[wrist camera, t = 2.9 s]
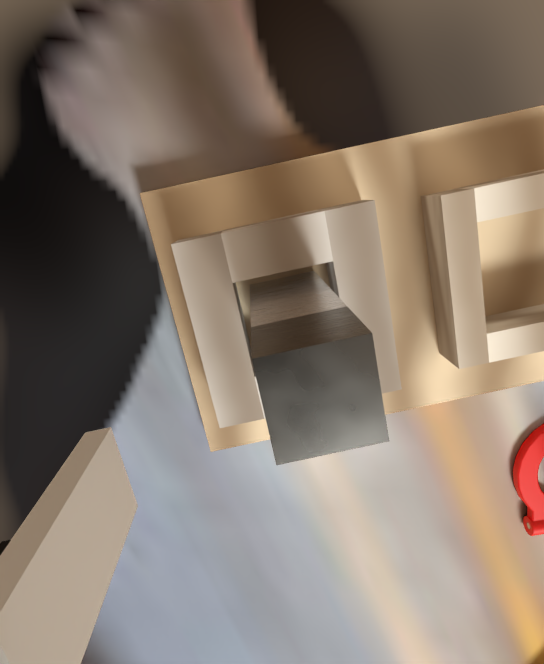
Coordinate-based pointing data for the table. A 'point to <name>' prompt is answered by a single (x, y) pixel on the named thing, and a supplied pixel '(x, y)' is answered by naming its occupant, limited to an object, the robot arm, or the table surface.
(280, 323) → the grey square peg
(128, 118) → the table surface
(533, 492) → the tow hook
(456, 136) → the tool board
